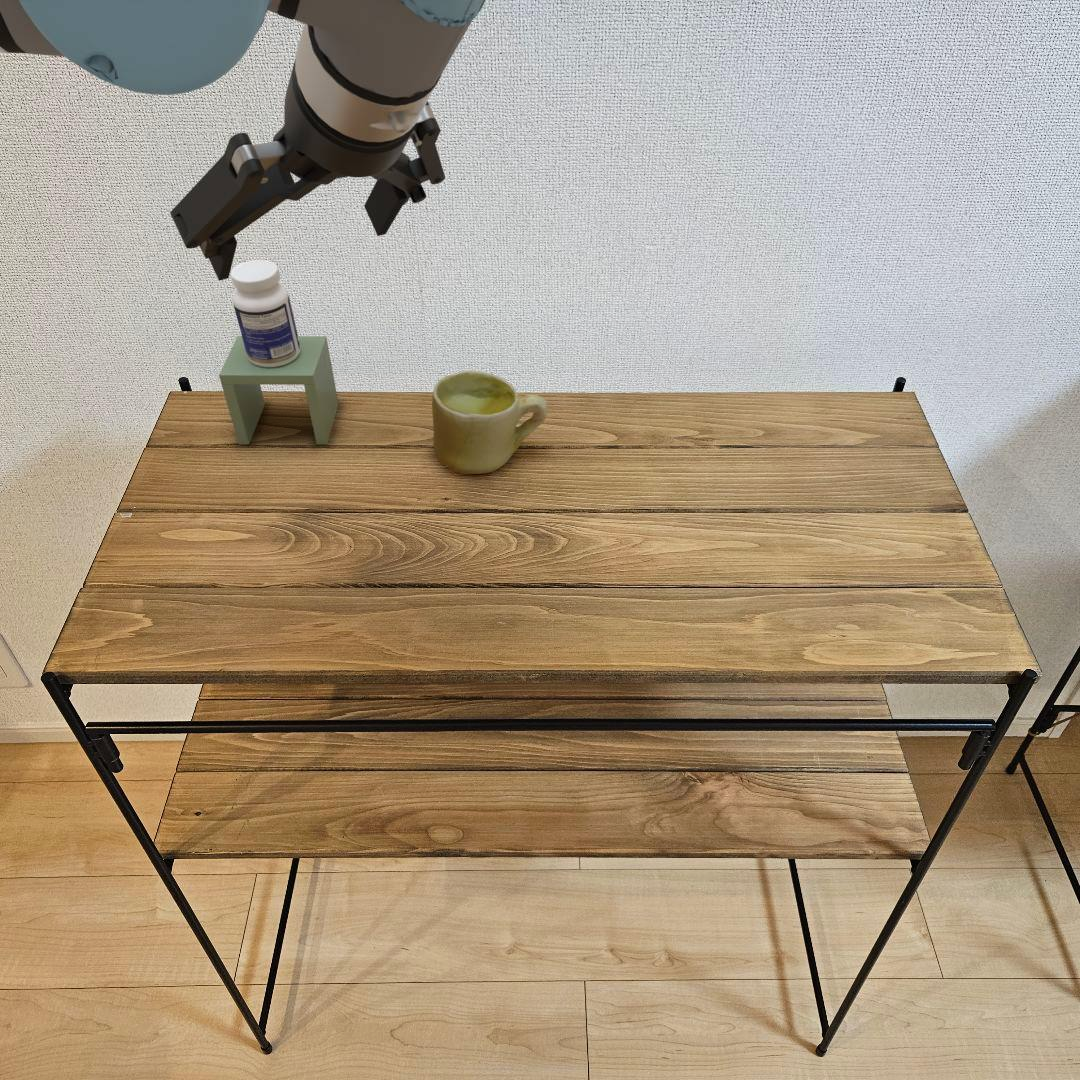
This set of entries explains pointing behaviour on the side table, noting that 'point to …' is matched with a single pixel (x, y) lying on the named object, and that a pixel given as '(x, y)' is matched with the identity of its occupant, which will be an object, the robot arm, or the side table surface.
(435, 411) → the mug
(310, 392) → the shelf
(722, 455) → the side table surface
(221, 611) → the side table surface
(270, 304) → the pill bottle
